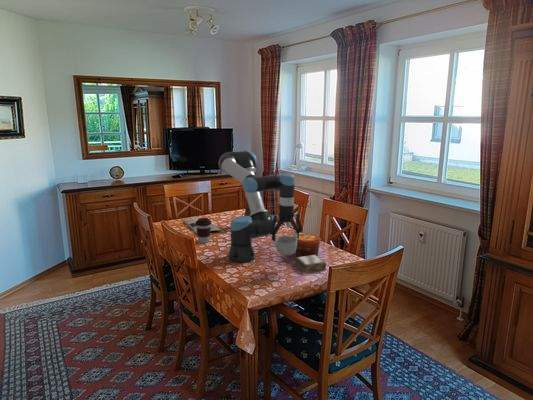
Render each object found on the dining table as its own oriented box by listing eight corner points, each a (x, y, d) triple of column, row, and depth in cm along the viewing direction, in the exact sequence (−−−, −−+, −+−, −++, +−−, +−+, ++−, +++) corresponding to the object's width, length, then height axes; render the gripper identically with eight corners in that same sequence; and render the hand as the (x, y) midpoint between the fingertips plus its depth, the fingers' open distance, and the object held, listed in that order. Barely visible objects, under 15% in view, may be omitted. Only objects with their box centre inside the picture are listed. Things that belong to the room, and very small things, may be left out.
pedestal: (304, 272, 189) (305, 265, 188) (295, 264, 200) (295, 256, 199) (325, 269, 193) (325, 262, 192) (315, 261, 204) (315, 254, 203)
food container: (294, 249, 223) (294, 232, 221) (320, 251, 221) (321, 233, 218) (291, 259, 208) (291, 240, 206) (320, 260, 205) (320, 242, 203)
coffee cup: (207, 244, 231) (206, 221, 228) (193, 243, 234) (192, 220, 231) (214, 240, 240) (213, 217, 237) (201, 238, 243) (200, 216, 240)
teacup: (295, 258, 187) (295, 243, 185) (273, 256, 189) (274, 241, 187) (298, 248, 200) (298, 234, 198) (278, 246, 202) (278, 232, 200)
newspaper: (183, 222, 281) (183, 219, 280) (208, 219, 290) (208, 216, 289) (198, 236, 249) (197, 232, 248) (225, 232, 258) (225, 228, 257)
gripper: (267, 208, 180) (266, 250, 186) (310, 204, 188) (308, 245, 193) (262, 204, 187) (261, 245, 193) (304, 201, 195) (302, 240, 200)
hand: (285, 245), depth 193 cm, fingers closed on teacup, 11 cm apart
